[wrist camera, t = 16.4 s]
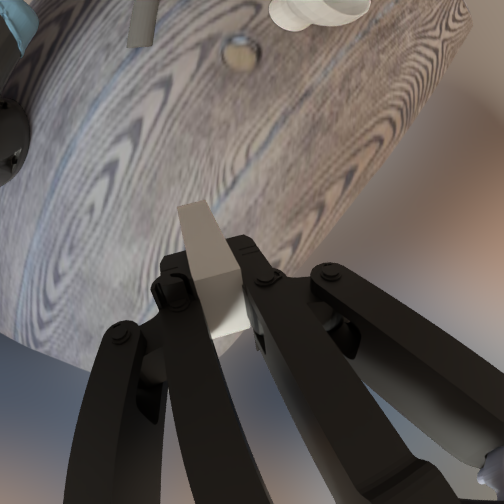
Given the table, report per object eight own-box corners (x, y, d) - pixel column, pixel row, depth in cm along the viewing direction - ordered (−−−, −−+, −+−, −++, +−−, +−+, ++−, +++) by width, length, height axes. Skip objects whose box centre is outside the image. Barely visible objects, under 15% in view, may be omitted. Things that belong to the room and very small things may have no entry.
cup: (262, -17, 27) (305, -53, 15) (318, -2, 30) (373, -24, 18) (257, 32, 32) (302, 4, 20) (316, 45, 35) (374, 31, 23)
